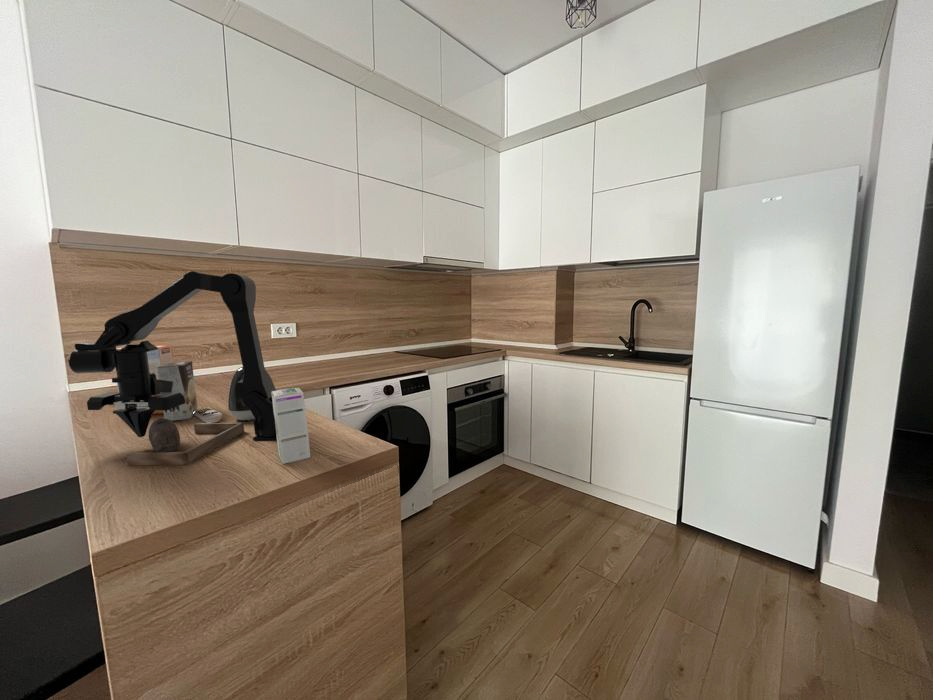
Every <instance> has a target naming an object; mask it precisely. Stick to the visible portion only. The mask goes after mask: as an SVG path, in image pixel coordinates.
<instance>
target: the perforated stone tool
mask: <svg viewBox="0 0 933 700" xmlns="http://www.w3.org/2000/svg"><path fill="white" fill-rule="evenodd" d="M148 429H149V430H148V440H149V442H150V445H151V448H152V449H153V450H154V451H155V452H175V451H176V450H177V449H178V448H179V447H180V443H181V436H180V431H179V429H178V426H177V424H175V422H174V421H171V420H168V419H164V418H158V419H156V420H154V421H153V422H152V423H151V424H150V426H149V428H148Z"/></svg>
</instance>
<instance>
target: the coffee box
mask: <svg viewBox="0 0 933 700" xmlns="http://www.w3.org/2000/svg"><path fill="white" fill-rule="evenodd" d="M157 369H158V375H159V380H166V381H172V382H173V388H172V393H182V394H183V395H184V397H185V404H182V405H179V406H177V407H174V408H171V409H168V410H163V412H164V414H163V417H164V418H163V419H168V420H171V421H172V422H174V421H182V420H190V419H191V418H192V417H193V416H194V415H193V412H194V411H197V410H198V411H199V407H198V400H197V391H196V384H195V382H196V381H195V375H194V374H195V373H194V366H193V361H192V360H189V361H188V360H186V361H177V362H176V361H175V362H174V363H167V364H164V365H162V366H159V367H157ZM161 394H164V393H161ZM198 411H197V412H198Z"/></svg>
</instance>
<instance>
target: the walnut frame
mask: <svg viewBox="0 0 933 700" xmlns="http://www.w3.org/2000/svg"><path fill="white" fill-rule="evenodd" d="M193 428H194V434H195V433H202V434H216V435H214V436H212V437H210V438H209V439H207V440H204V441H203V442H200V443H198V444H197V445H195V446H193V447H190V448H189V449H187V450H185V451H169V452H157V451H155V452H154V451H153V452H150V451H149V452H148V451H147V452H128V453H126V454H125V456H126V460H127V461H126V463H127V466H177V465H178V466H180V465H181V466H185V465H188V463H189V464H190V463H192V462H194V461H195V459H196V460H197V459H199V458H201V457H202V455H203V456H204V455H206V454H208V453H210V452H211V451H213V450H215V449H217V448H218V446H219V445H220V446H222V445H224V444H226V443H227V442H229V441H230V439H231V438H233V437H234V438H236V437H238V436H240V435H242V434H243V433H245V425H244V422H208V423H207V422H205V423H204V422H203V423H199V422H198V423H197V422H196V423H194V424H193ZM242 432H243V433H242ZM241 433H242V434H241ZM239 434H240V435H239ZM237 435H238V436H237ZM235 436H236V437H235ZM234 438H233V439H234ZM228 440H229V441H228ZM231 440H232V439H231ZM226 441H227V442H226ZM225 442H226V443H225ZM223 443H224V444H223ZM221 444H222V445H221ZM220 446H219V447H220ZM216 447H217V448H216ZM214 448H215V449H214ZM212 449H213V450H212ZM210 450H211V451H210ZM209 451H210V452H209ZM207 452H208V453H207ZM200 456H201V457H200ZM198 457H199V458H198ZM193 460H194V461H193Z"/></svg>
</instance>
